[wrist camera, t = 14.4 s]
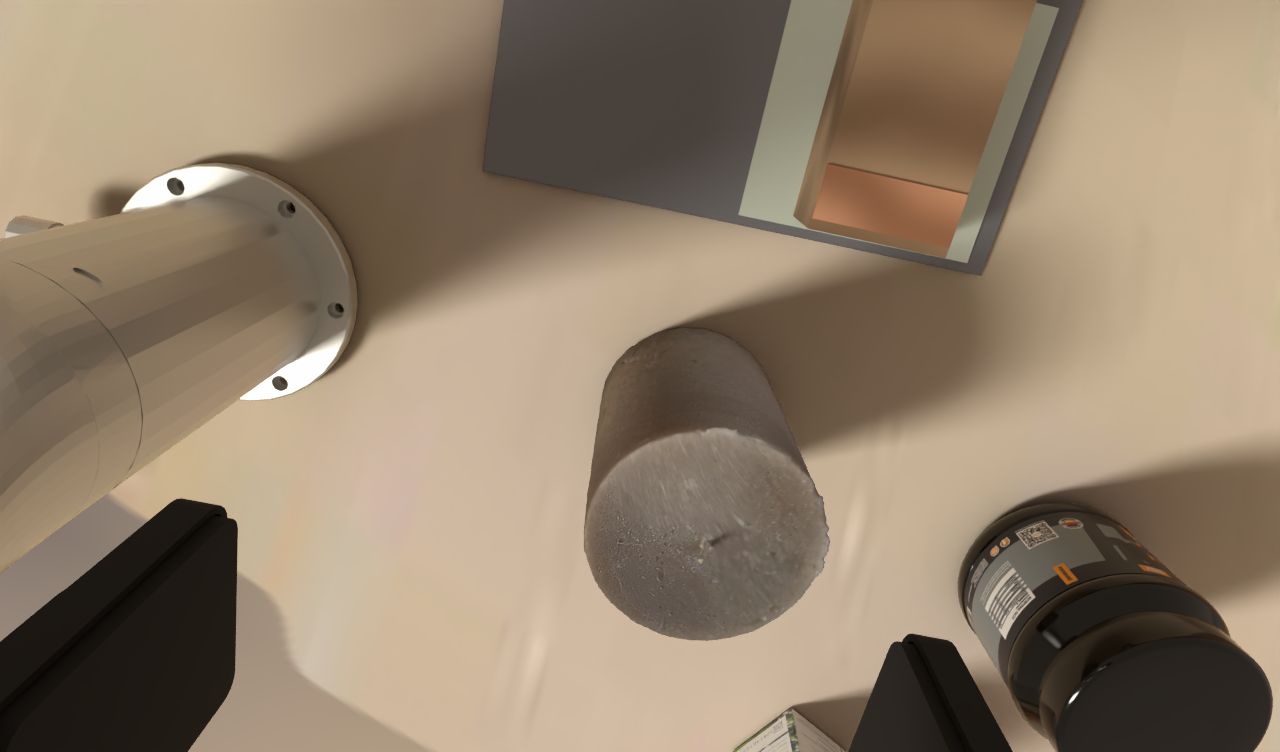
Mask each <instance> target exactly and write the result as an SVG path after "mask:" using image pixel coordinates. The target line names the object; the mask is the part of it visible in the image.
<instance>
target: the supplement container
mask: <svg viewBox="0 0 1280 752" xmlns="http://www.w3.org/2000/svg"><path fill="white" fill-rule="evenodd" d="M958 598H959V603H960V607H961V610H962V613H963V615H964V617H965V619H966V621H967V623H968V624H969V626H970V627H971V629H972V630H973V632H974V633H975V634H976V635H977V637H978V638H979V640H980V642H981V643H982V645H983V647H984V648H985V650H986V652H987V653H988V655H989V657H990V658H991V660H992V662H993V663H994V665H995V667H996V668H997V670H998V672H999V673H1000V675H1001V677H1002V678H1003V680H1004V682H1005V683H1006V685H1007V687H1008V688H1009V690H1010V693H1011V696H1012V699H1013V701H1014V703H1015V705H1016V707H1017V709H1018V710H1019V712H1020V713H1021V715H1022V716H1023V718H1024V719H1025V720H1026V721H1027V723H1028V724H1029V725H1030V726H1031V727H1032V728H1033V729H1034V730H1035V731H1037V732H1038V733H1039V734H1040V735H1042V736H1043V737H1045V738H1046V739H1048V740H1049V741H1050V743H1051V745H1052V746H1053V748H1054V750H1055V751H1056V752H1254V750H1255V749H1256V748H1257V746H1258V745H1259V743H1260V742H1261V740H1262V739H1263V737H1264V735H1265V733H1266V731H1267V728H1268V726H1269V723H1270V719H1271V715H1272V708H1273V697H1272V690H1271V687H1270V684H1269V681H1268V679H1267V677H1266V675H1265V673H1264V671H1263V670H1262V668H1261V667H1260V666H1259V665H1258V663H1257V662H1256V661H1255V660H1254V659H1253V658H1252V657H1251V656H1250V655H1249V654H1247V653H1246V652H1245V651H1244V650H1243V649H1242V648H1241V647H1240V646H1239V645H1238V644H1237V643H1236V642H1235V641H1234V640H1233V639H1231V637H1230V634H1229V631H1228V628H1227V626H1226V624H1225V622H1224V620H1223V619H1222V617H1221V616H1220V614H1219V613H1218V612H1217V610H1216V609H1215V608H1214V607H1213V606H1212V605H1211V604H1210V603H1209V602H1208V601H1207V600H1206V599H1205V598H1203V597H1202V596H1201V595H1200V594H1199V593H1197V592H1196V591H1194V590H1192V589H1191V588H1189V587H1187V586H1186V585H1185V584H1184V583H1183V582H1182V581H1181V580H1180V579H1179V578H1178V577H1177V576H1175V575H1174V574H1173V573H1172V572H1171V571H1170V570H1169V569H1168V568H1167V567H1166V566H1164V565H1163V564H1162V563H1161V562H1160V561H1159V560H1158V559H1157V558H1156V557H1155V556H1154V555H1152V554H1151V553H1150V552H1149V551H1148V550H1147V549H1146V548H1145V547H1144V546H1143V545H1142V544H1140V543H1139V542H1138V541H1137V540H1136V539H1135V538H1134V537H1133V535H1132V534H1131V533H1130V532H1129V531H1128V530H1127V529H1126V528H1125V527H1124V526H1123V525H1122V524H1121V523H1119V522H1118V521H1117V520H1116V519H1114V518H1112V517H1111V516H1109V515H1108V514H1106V513H1104V512H1102V511H1100V510H1097V509H1094V508H1092V507H1089V506H1085V505H1081V504H1075V503H1067V502H1053V503H1043V504H1038V505H1033V506H1029V507H1026V508H1023V509H1020V510H1018V511H1015V512H1013V513H1011V514H1009V515H1007V516H1005V517H1003V518H1001V519H1000V520H998V521H997V522H995V523H994V524H993V525H991V526H990V527H989V528H988V529H986V530H985V531H984V532H983V533H982V534H981V535H980V536H979V537H978V538H977V540H976V541H975V542H974V543H973V545H972V546H971V547H970V549H969V551H968V552H967V554H966V556H965V558H964V560H963V562H962V565H961V568H960V573H959V577H958Z"/></svg>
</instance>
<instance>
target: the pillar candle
mask: <svg viewBox="0 0 1280 752" xmlns="http://www.w3.org/2000/svg"><path fill="white" fill-rule="evenodd" d="M823 505H824V502H823V497H822V496H820V495H819V494H818V492H817V490H816V488H815V484H814V482H813V480H812V478H811V477H810V475H809V472H808V470H807V467H806V465H805V463H804V461H803V458H802V456H801V454H800V452H799V449H798V447H797V445H796V443H795V440H794V438H793V436H792V433H791V431H790V429H789V426H788V424H787V422H786V419H785V417H784V415H783V412H782V410H781V407H780V405H779V403H778V401H777V399H776V397H775V395H774V393H773V390H772V388H771V386H770V383H769V381H768V379H767V376H766V374H765V372H764V371H763V369H762V368H761V366H760V365H759V364H758V362H757V361H756V360H755V359H754V357H753V356H752V355H751V354H750V353H749V352H748V351H747V350H746V349H745V348H743V347H742V346H741V345H739V344H738V343H737V342H735V341H734V340H732V339H730V338H728V337H726V336H725V335H722V334H719V333H716V332H713V331H710V330H706V329H701V328H676V329H671V330H667V331H663V332H659V333H657V334H654V335H652V336H650V337H648V338H646V339H644V340H643V341H641V342H639V343H638V344H636V345H635V346H632V347H630V348H629V349H628V350H627V351H626V352H625V353H624V354H623V355H622V356H621V357H620V358H619V359H618V360H617V362H616V363H615V364H614V366H613V368H612V370H611V372H610V373H609V375H608V377H607V379H606V381H605V386H604V390H603V394H602V401H601V405H600V413H599V419H598V424H597V432H596V439H595V446H594V454H593V459H592V467H591V477H590V482H589V488H588V493H587V504H586V516H585V526H584V551H585V553H586V556H587V560H588V563H589V566H590V568H591V571H592V574H593V576H594V579H595V581H596V583H597V584H598V586H599V588H600V589H601V590H602V592H603V593H604V594H605V596H606V597H607V598H608V599H609V601H610V602H611V603H612V604H614V605H615V606H616V607H617V608H618V609H619V610H620V611H622V612H623V613H624V614H625V615H626V616H628V617H629V618H630V619H631V620H633V621H634V622H636V623H638V624H640V625H642V626H644V627H647V628H649V629H651V630H653V631H655V632H657V633H660V634H662V635H666V636H669V637H675V638H681V639H687V640H706V641H708V640H717V639H724V638H730V637H734V636H738V635H741V634H745V633H749V632H752V631H754V630H756V629H758V628H760V627H762V626H764V625H765V624H767V623H769V622H771V621H772V620H774V619H776V618H778V617H779V616H780V615H782V614H783V613H784V612H785V611H787V610H788V609H789V608H790V607H792V606H793V605H794V604H795V603H796V602H797V601H798V600H799V599H800V598H801V597H802V596H803V594H804V593H805V591H806V590H807V589H808V588H809V586H810V585H811V583H812V582H813V580H814V579H815V577H816V576H818V575H819V573H821V571H822V570H823V568H824V563H825V562H824V557H825V556H826V554H827V552H828V547H829V543H830V541H829V537H828V535H827V532H828V530H829V527H828V526H827V524H826V517H825V513H824V507H823Z"/></svg>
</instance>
